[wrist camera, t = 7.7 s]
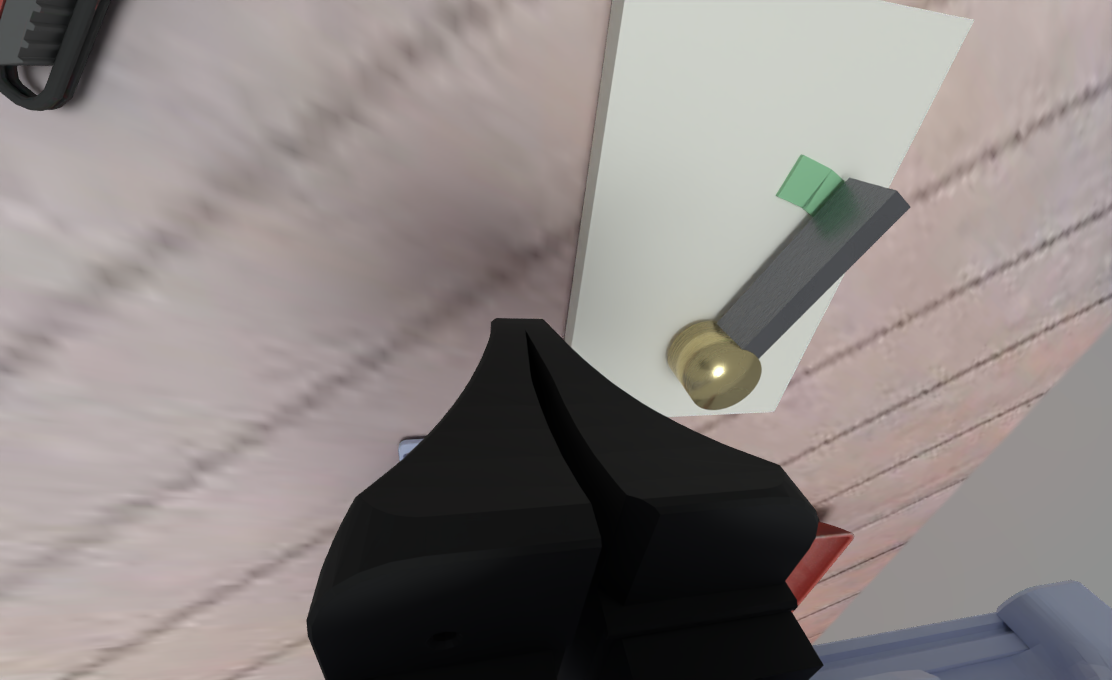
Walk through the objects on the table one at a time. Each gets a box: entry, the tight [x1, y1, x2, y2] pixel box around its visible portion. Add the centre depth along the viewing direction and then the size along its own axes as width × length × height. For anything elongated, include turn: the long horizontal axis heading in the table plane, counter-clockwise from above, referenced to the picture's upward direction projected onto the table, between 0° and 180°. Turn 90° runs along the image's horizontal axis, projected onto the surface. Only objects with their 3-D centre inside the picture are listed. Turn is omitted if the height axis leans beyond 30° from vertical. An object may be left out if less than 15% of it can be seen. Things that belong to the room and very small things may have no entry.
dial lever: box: [668, 178, 910, 410], centre depth 19 cm, size 12×4×3 cm, turn 146°
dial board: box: [564, 0, 974, 417], centre depth 20 cm, size 20×14×2 cm
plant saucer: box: [785, 522, 854, 613], centre depth 39 cm, size 18×18×3 cm
